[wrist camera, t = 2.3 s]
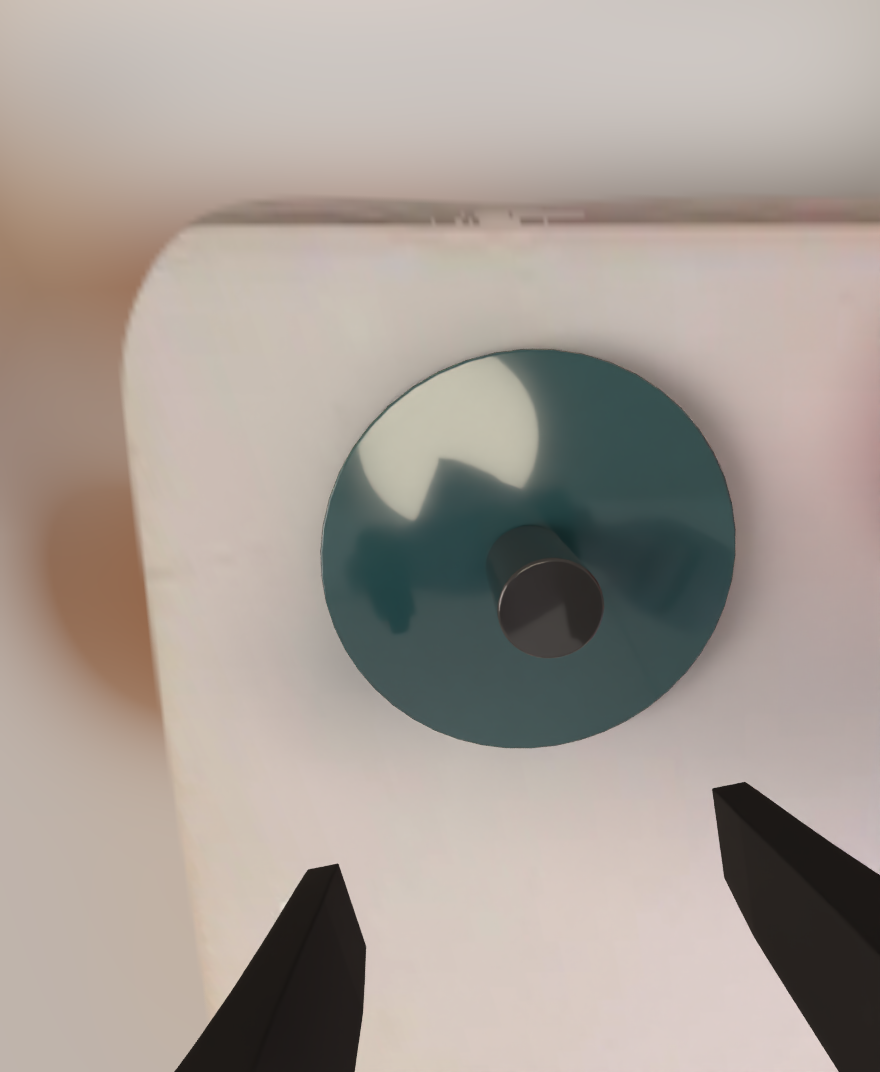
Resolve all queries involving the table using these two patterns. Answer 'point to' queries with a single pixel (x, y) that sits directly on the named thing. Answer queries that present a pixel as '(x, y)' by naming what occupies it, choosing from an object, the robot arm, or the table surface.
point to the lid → (528, 548)
